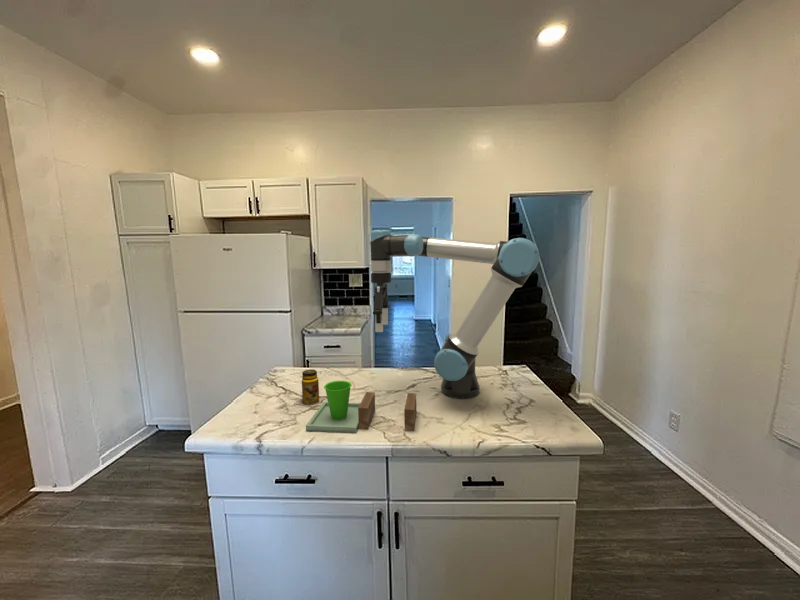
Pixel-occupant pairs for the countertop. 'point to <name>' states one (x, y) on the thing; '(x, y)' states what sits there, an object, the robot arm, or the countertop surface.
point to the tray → (327, 424)
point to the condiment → (310, 389)
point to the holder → (368, 410)
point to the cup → (338, 398)
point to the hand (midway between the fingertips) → (382, 328)
